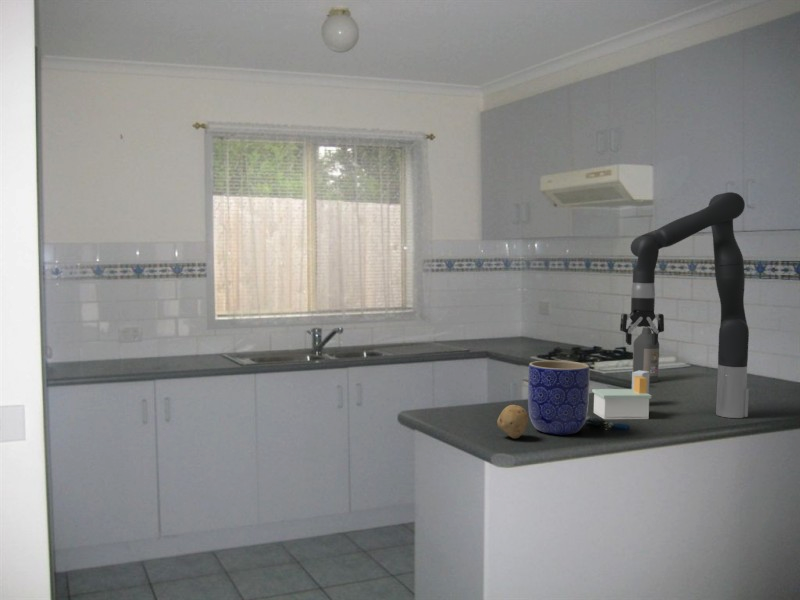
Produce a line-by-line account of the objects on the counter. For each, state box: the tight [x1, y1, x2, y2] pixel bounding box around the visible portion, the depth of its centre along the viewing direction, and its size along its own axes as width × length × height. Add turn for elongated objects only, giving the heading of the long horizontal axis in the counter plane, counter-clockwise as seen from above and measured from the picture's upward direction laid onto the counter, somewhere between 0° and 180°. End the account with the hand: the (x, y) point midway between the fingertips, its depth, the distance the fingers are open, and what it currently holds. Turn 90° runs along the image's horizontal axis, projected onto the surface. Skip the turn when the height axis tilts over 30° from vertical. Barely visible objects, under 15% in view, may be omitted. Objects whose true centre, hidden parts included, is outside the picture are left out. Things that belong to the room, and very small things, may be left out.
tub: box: [593, 393, 650, 420], centre depth 285 cm, size 15×11×7 cm
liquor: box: [632, 326, 660, 384], centre depth 357 cm, size 9×9×30 cm
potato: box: [496, 404, 529, 439], centre depth 250 cm, size 9×9×10 cm
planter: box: [527, 359, 591, 436], centre depth 260 cm, size 18×18×21 cm
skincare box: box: [631, 370, 650, 394], centre depth 305 cm, size 6×4×12 cm
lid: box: [591, 376, 652, 399], centre depth 284 cm, size 16×12×7 cm
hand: (641, 344), depth 284 cm, fingers open, 8 cm apart
